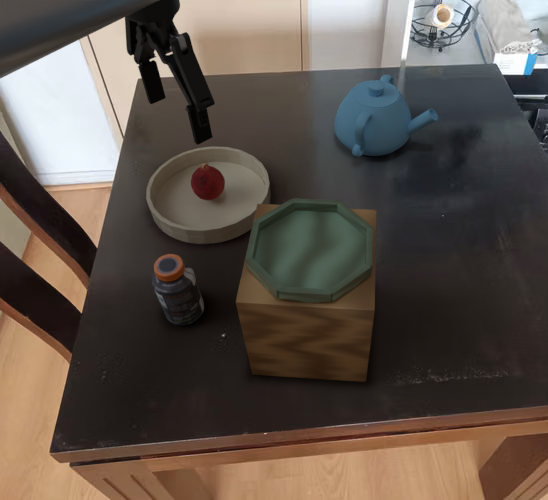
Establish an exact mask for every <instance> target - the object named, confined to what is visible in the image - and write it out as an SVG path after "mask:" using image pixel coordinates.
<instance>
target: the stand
mask: <svg viewBox="0 0 548 500" xmlns="http://www.w3.org/2000/svg"><path fill="white" fill-rule="evenodd" d="M377 216H378V211H377V209H366V208H365V209H364V208H363V209H362V208H350V207H349V206H347V205H346V204H345V203H344V202H343V201H341V200H337V199H318V198H317V199H316V198H300V197H299V198H298V197H293V198H290V199H288V200H287V201H285V202H283V203H282V204H272V203H270V204H257V207H256V212H255V216H254V221H253V226H252V229H250V235H249V239H248V244H247V248H246V253H245V258H244V262H243V267H242V272H241V274H240V275H241V277H240V281H239V285H238V290H237V293H236V299H235V306H236V310H237V314H238V318H239V323H240V327H241V331H242V336H243V341H244V344H245V345H244V346H245V349H246V353H247V357H248V358H247V359H248V363H249V367H250V372H251V375H254V376H267V377H268V376H269V377H270V376H271V377H283V378H297V379H298V378H300V379H313V380H330V381H343V382H344V381H345V382H359V383H366V382H367V377H368V369H369V361H370V351H371V344H372V337H373V330H374V329H373V328H374V319H375V312H376V274H377V273H376V272H377V270H376V269H377V267H376V265H377V219H378V218H377Z"/></svg>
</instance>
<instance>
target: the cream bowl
mask: <svg viewBox="0 0 548 500" xmlns="http://www.w3.org/2000/svg"><path fill="white" fill-rule="evenodd" d="M203 163H207V164H208V165H209V166H212V167H215V168H216V169H218V170H219V171H220V172H221V173H222V175H223V177H224V179H225V187H224V190H223V192H222V193H221V195H220V196H218V197H217V198H215V199H213V200H203V199H200V198H199V197H198V196H197V195H196V194H194V192H193V190H192V187H191V179H192V175H193V173H194V172H195V171H196V169H198V168H199V167H201V166H202V164H203ZM271 192H272V191H271V185H270V178H269V172H268V171H267V169H266V167H265V166H264V164H263V163H262V162H261V160H259V159H258V158H256V157H255V156H254V155H252V154H250V153H248V152H247V151H244V150H242V149H238V148H234V147H229V146H214V145H213V146H205V147H198V148H194V149H190V150H187V151H183V152H181V153H179V154H176V155H174V156H173V157H170V158H169V159H168V160H167V161H165V162H163V164H161V165H160V166H159V167H157V169H156V170H155V172H154V173H153V174H152V176H151V177H150V178H149V181H148V183H147V185H146V196H145V199H146V202H147V206H148V208H149V211H150V213H151V217H152V218H153V221H154V223H155V224H156V226H157V227H158V228H159V229H160V230H161V232H164V234H166V235H167V236H169V237H171V238H172V239H175V240H176V241H177V240H178V241H180V242H184V243H189V244H195V245H209V244H219V243H223V242H226V241H231V240H233V239H236V238H239V237H240V236H242V235H244V234H246V233H247V232H249V231H251V230H252V226H253V221H254V216H255V212H256V207H257V204H271V199H272V194H271Z"/></svg>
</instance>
